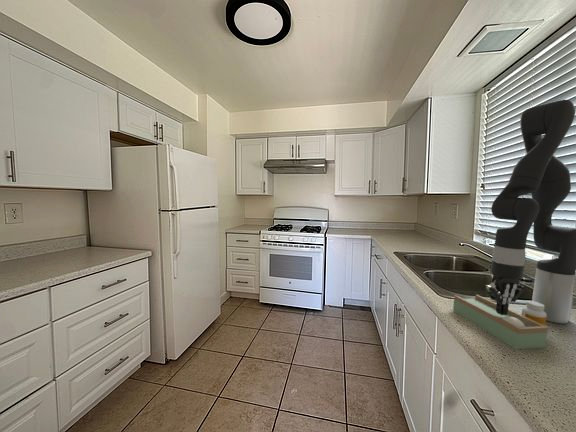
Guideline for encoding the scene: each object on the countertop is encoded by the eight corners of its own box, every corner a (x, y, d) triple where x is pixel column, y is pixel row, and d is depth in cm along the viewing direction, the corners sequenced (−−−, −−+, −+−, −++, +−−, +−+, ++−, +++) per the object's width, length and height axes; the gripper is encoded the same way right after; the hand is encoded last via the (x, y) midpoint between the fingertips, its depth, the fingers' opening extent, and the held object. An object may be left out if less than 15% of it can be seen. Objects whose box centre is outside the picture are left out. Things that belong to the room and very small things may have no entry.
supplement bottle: (548, 338, 73) (553, 308, 72) (528, 336, 74) (532, 306, 73) (534, 329, 78) (538, 300, 77) (515, 326, 79) (519, 298, 78)
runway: (475, 309, 90) (477, 294, 90) (545, 347, 68) (548, 327, 68) (453, 310, 89) (454, 295, 88) (516, 349, 67) (519, 329, 67)
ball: (531, 320, 70) (532, 341, 70) (510, 314, 76) (511, 333, 76) (513, 319, 70) (513, 341, 69) (493, 313, 76) (494, 333, 75)
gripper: (513, 257, 79) (506, 307, 81) (478, 258, 77) (472, 309, 79) (539, 264, 72) (532, 319, 73) (501, 265, 70) (494, 321, 72)
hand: (501, 313), depth 76 cm, fingers closed
